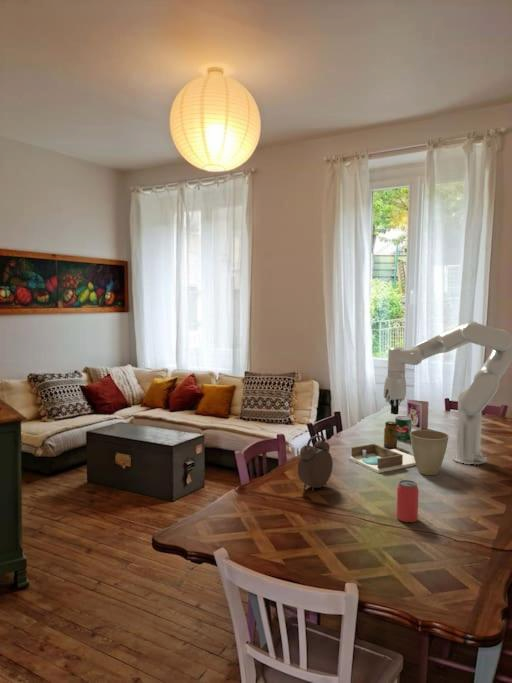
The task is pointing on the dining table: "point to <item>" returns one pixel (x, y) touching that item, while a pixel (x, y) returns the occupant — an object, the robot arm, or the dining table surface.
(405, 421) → the canned tomato
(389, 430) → the condiment
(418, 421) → the pink box
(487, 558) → the dining table surface
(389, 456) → the tray
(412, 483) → the beer can
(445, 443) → the plant pot
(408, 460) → the board
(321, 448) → the alarm clock
